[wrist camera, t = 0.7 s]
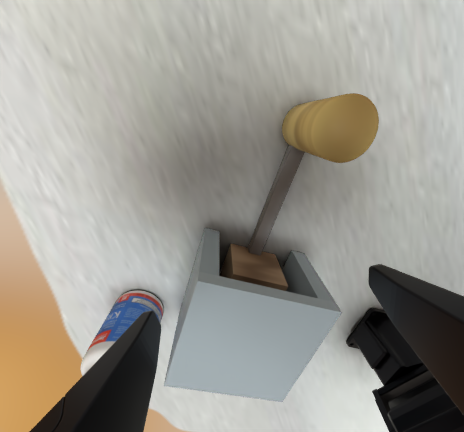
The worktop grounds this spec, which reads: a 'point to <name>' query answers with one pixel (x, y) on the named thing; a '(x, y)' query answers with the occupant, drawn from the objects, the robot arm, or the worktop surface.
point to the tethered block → (300, 140)
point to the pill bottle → (120, 323)
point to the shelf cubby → (248, 328)
